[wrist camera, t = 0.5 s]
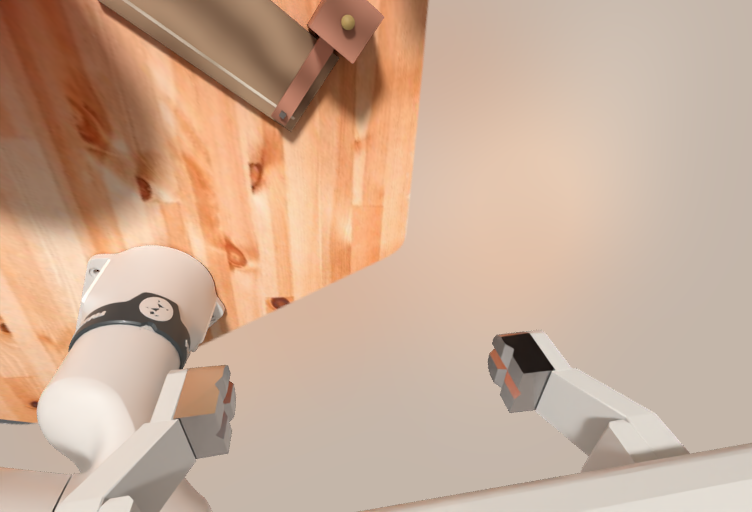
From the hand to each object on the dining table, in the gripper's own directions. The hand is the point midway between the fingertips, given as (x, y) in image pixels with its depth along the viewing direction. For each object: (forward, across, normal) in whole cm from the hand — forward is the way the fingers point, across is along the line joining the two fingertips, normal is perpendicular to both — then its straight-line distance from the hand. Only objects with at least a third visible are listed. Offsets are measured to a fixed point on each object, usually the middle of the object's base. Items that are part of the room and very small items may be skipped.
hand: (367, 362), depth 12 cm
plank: (+42, -9, +7) cm, 43 cm away
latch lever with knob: (+42, 0, +4) cm, 42 cm away
